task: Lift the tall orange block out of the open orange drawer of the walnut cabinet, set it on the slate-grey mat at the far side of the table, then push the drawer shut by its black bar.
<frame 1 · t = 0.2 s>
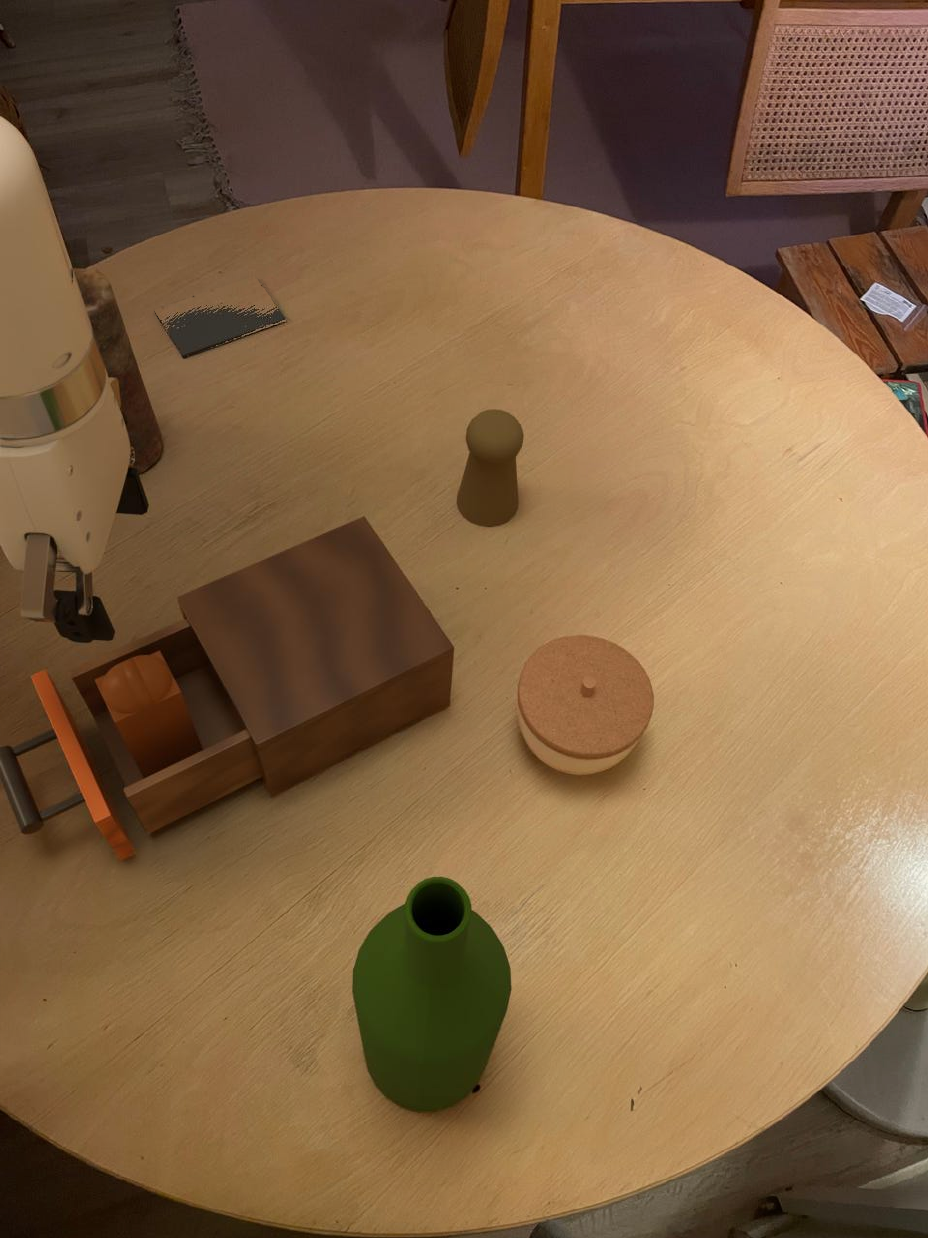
hand: (107, 570, 65), 24 cm above the table, tool pointing down, fingers open, 9 cm apart
drawer: (141, 737, 81), point 5 cm above the table, slide at 11.0 cm, touching tall orange block
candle: (125, 451, 103), on the table
trinket box: (572, 736, 88), on the table
chess pawn piece: (487, 503, 101), on the table
cabinet: (322, 682, 89), on the table
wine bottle: (426, 1045, 74), on the table
tall orange block: (164, 745, 83), point 2 cm above the table, touching drawer
mat: (220, 317, 113), on the table
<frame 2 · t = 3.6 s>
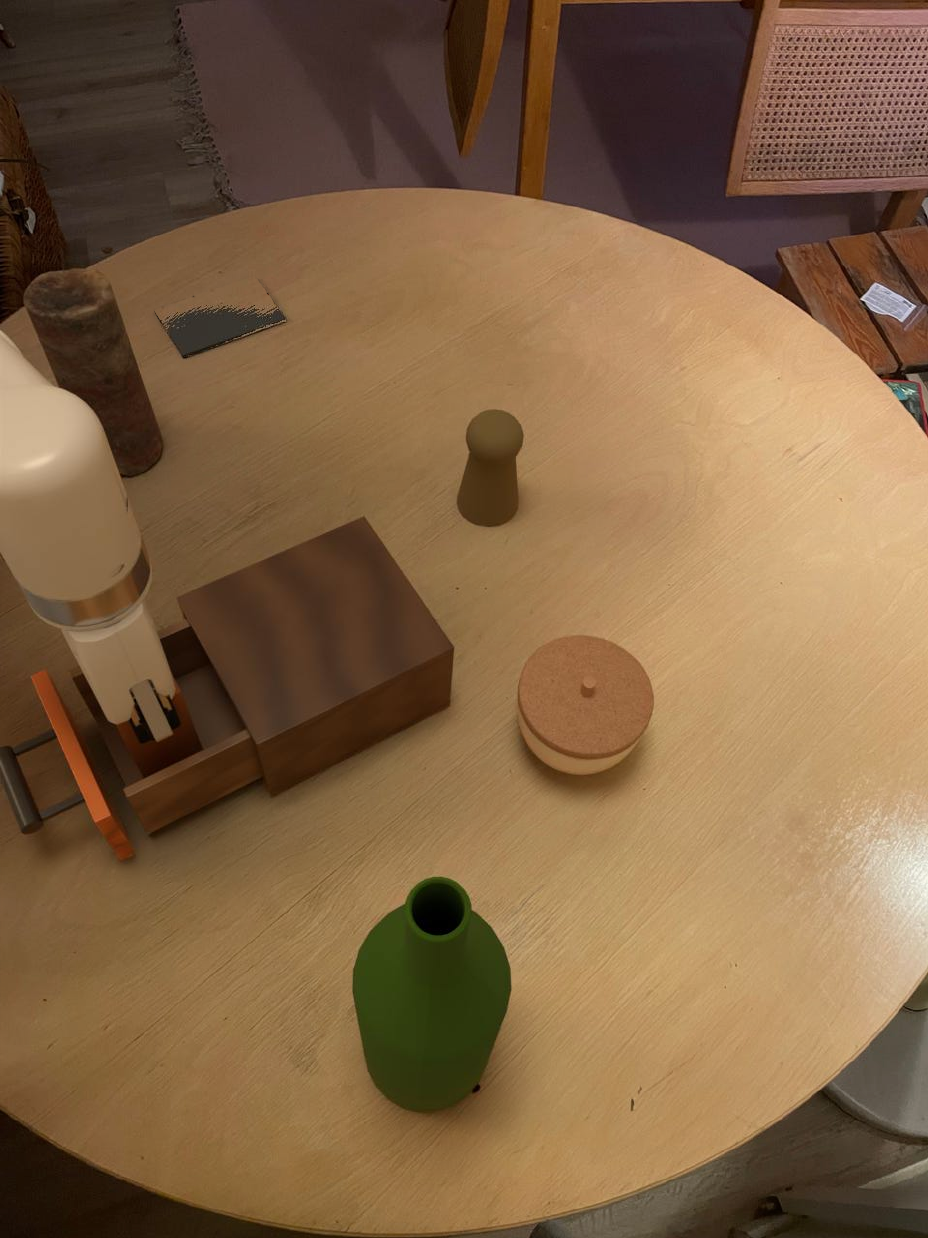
hand: (147, 706, 78), 9 cm above the table, tool pointing down, fingers closed on tall orange block, 4 cm apart
tall orange block: (164, 745, 83), point 2 cm above the table, touching drawer, gripper
everything else where it was.
when the fingers open (7 cm above the table, at t = 15.3 s): tall orange block stays where it is, resting on mat.
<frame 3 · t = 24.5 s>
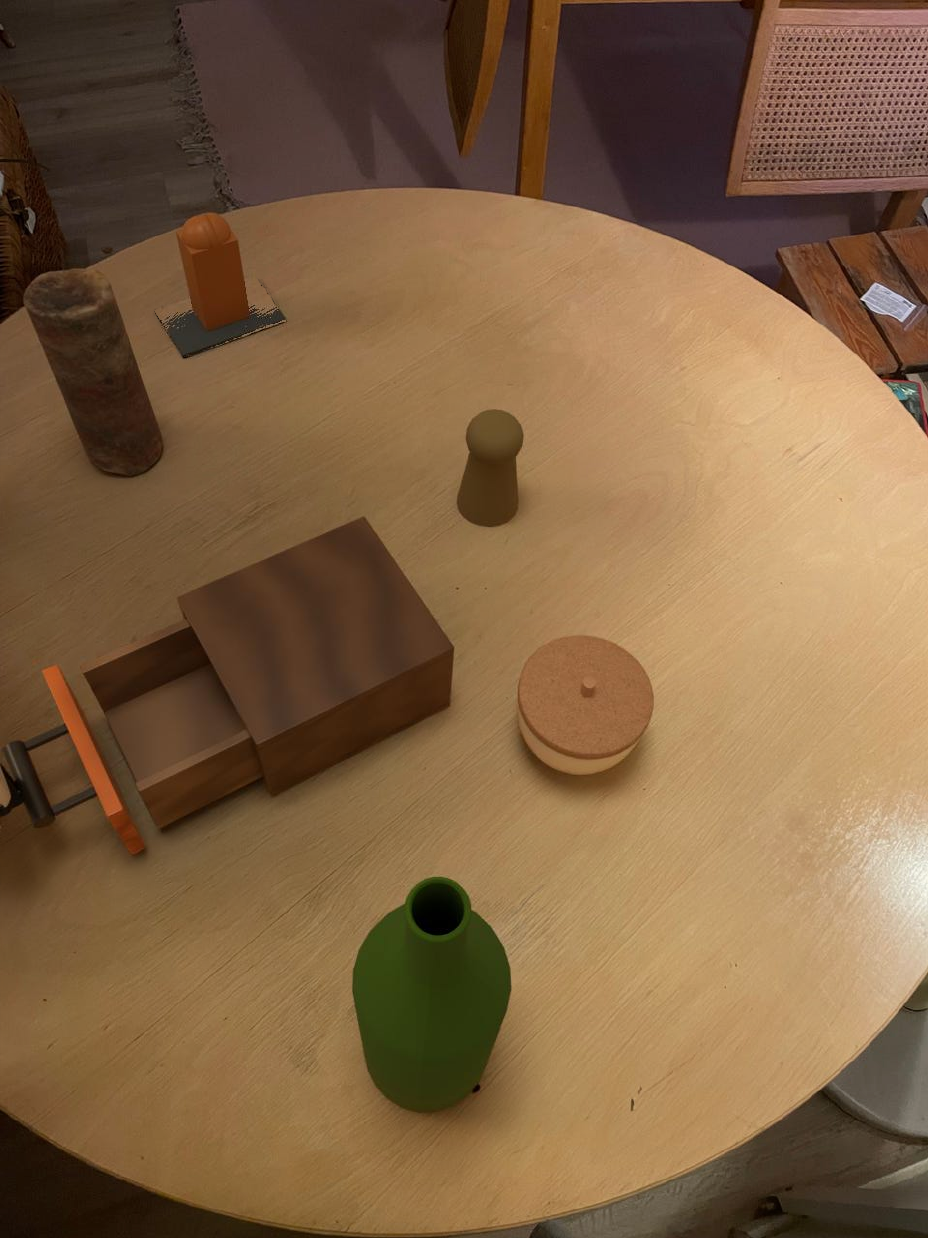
hand: (0, 804, 77), 5 cm above the table, tool pointing down, fingers closed
drawer: (152, 732, 81), point 5 cm above the table, slide at 10.1 cm
tall orange block: (221, 313, 113), resting on mat
everything else where it was.
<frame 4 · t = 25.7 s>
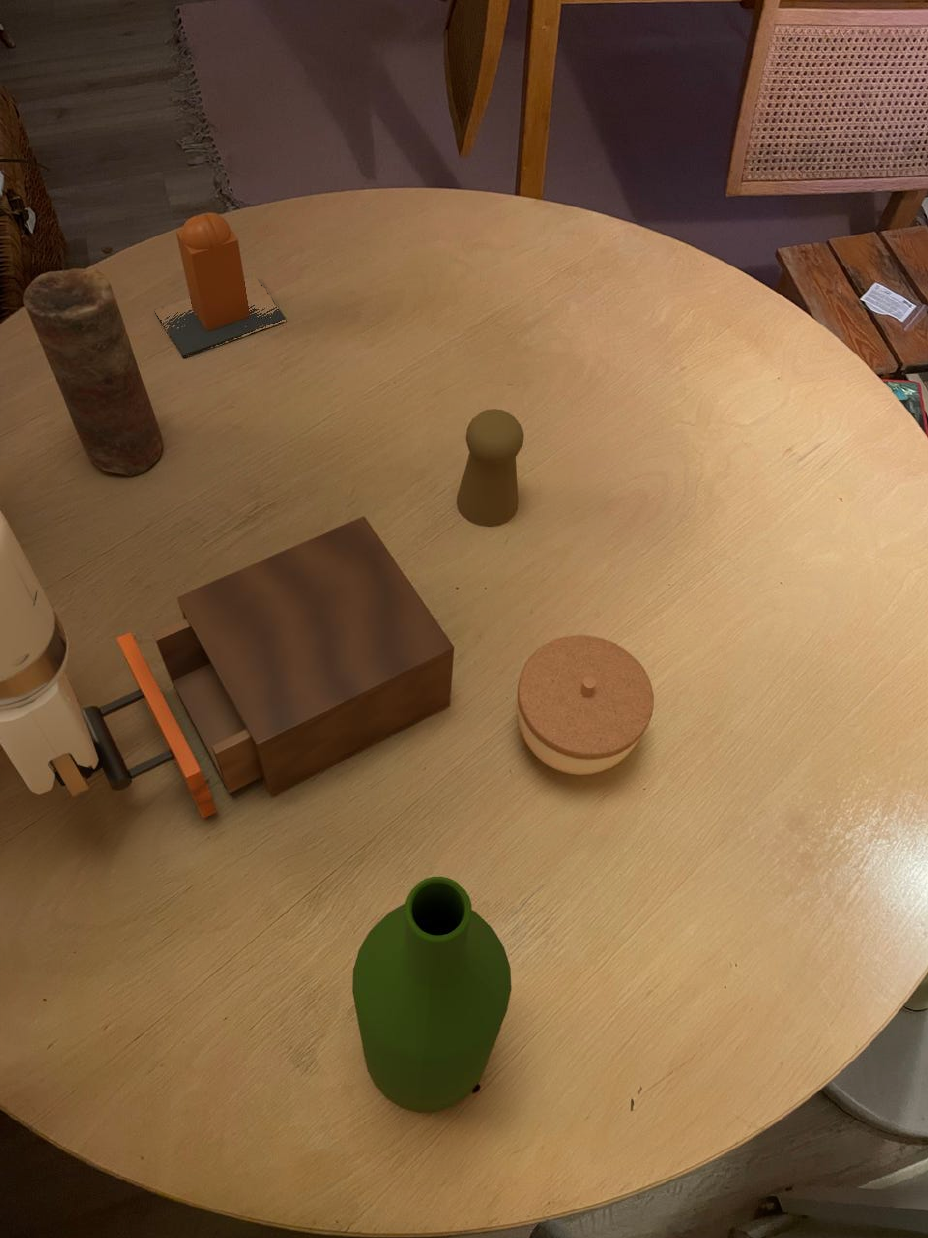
hand: (79, 769, 79), 5 cm above the table, tool pointing down, fingers closed
drawer: (222, 699, 83), point 5 cm above the table, slide at 4.2 cm, touching gripper
everything else where it was.
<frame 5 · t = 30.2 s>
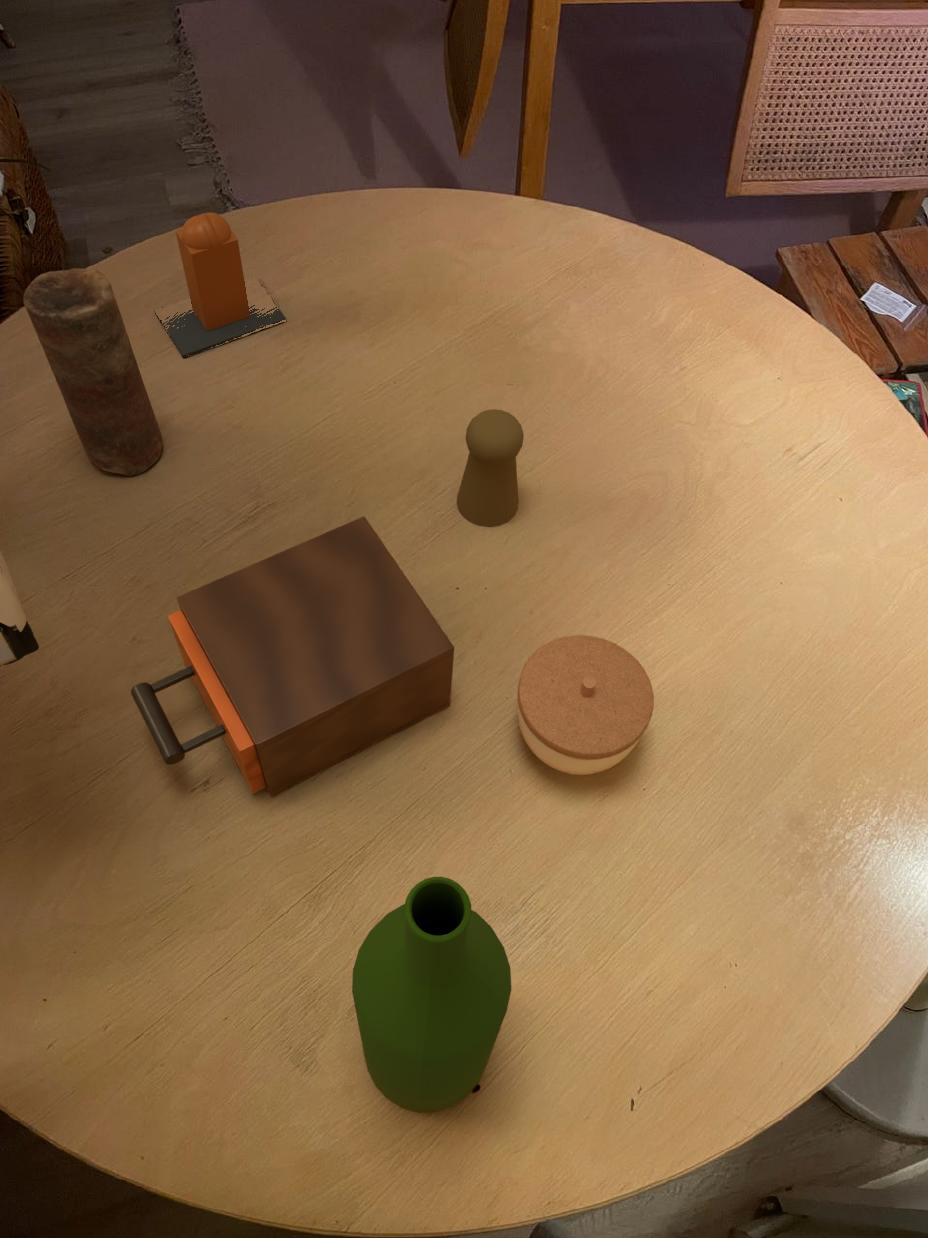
hand: (11, 650, 65), 22 cm above the table, tool pointing down, fingers closed
drawer: (271, 676, 84), point 5 cm above the table, slide at 0.0 cm, touching cabinet
everything else where it was.
at the end: tall orange block inside the target area on the mat (0.2 cm from its centre), point 0.5 cm above the mat's base; drawer slide at 0.0 cm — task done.
